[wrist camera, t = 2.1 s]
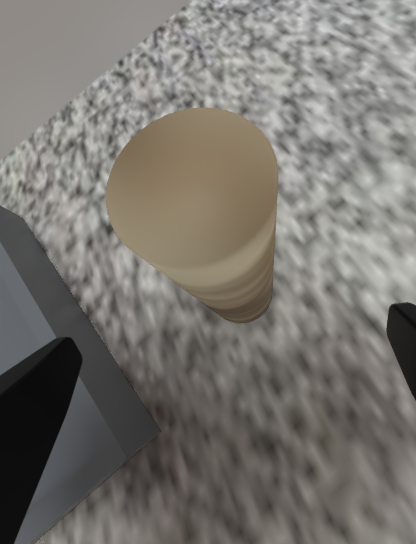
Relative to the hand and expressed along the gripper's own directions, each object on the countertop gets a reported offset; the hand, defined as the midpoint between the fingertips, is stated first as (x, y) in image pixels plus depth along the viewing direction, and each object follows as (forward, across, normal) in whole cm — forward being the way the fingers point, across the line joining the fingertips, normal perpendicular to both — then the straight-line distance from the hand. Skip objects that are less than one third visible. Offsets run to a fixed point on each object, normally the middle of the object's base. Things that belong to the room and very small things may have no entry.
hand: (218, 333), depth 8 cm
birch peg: (+10, 0, +5) cm, 11 cm away
